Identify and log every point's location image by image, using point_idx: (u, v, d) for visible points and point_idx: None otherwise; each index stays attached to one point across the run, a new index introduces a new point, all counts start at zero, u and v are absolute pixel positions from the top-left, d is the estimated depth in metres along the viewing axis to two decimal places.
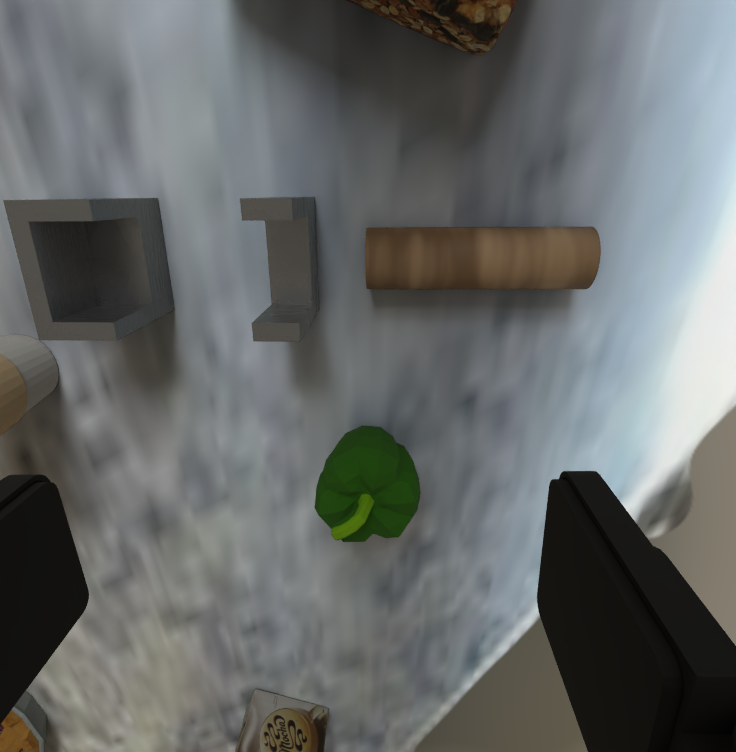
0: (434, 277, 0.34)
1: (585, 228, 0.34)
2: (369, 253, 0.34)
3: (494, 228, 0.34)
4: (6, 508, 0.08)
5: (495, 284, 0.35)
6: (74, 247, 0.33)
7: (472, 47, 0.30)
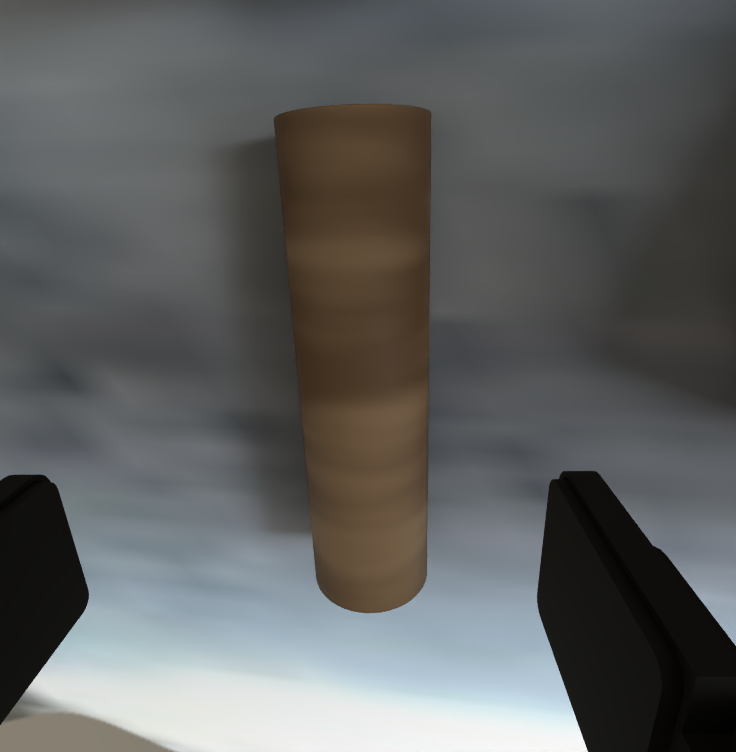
0: (316, 302, 0.14)
1: (425, 566, 0.18)
2: (369, 115, 0.12)
3: (427, 415, 0.16)
4: (6, 508, 0.08)
5: (310, 433, 0.16)
6: None
7: None
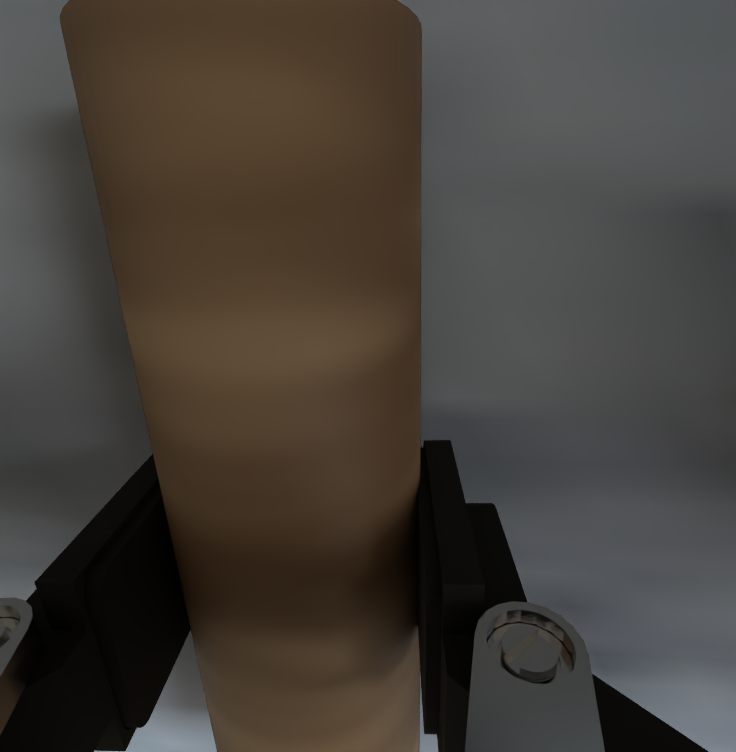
0: (173, 439, 0.06)
1: None
2: (253, 3, 0.04)
3: (417, 607, 0.09)
4: None
5: (198, 653, 0.08)
6: None
7: None
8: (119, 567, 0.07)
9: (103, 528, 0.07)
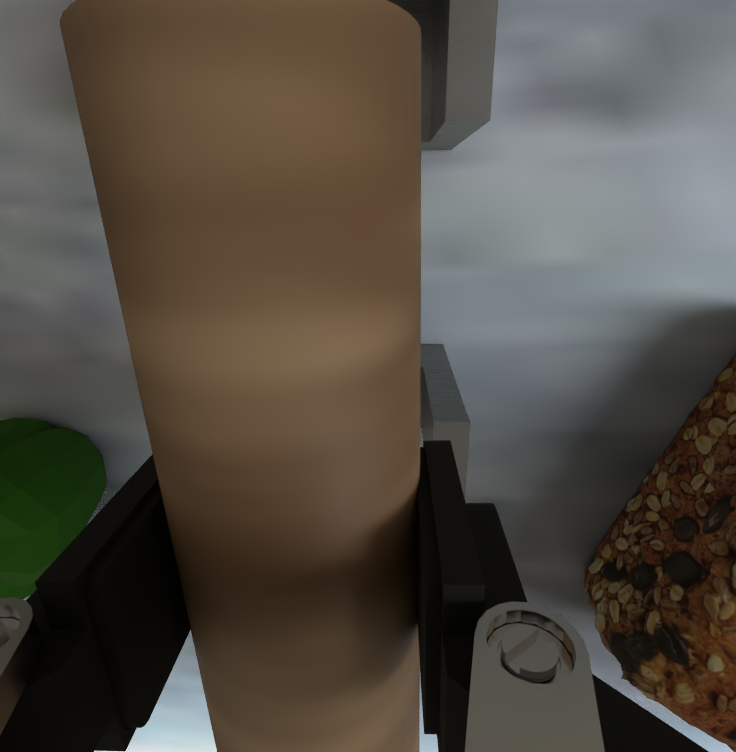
0: (173, 442, 0.06)
1: None
2: (252, 7, 0.04)
3: (416, 608, 0.09)
4: None
5: (198, 654, 0.08)
6: None
7: (597, 595, 0.27)
8: (119, 567, 0.07)
9: (103, 527, 0.07)
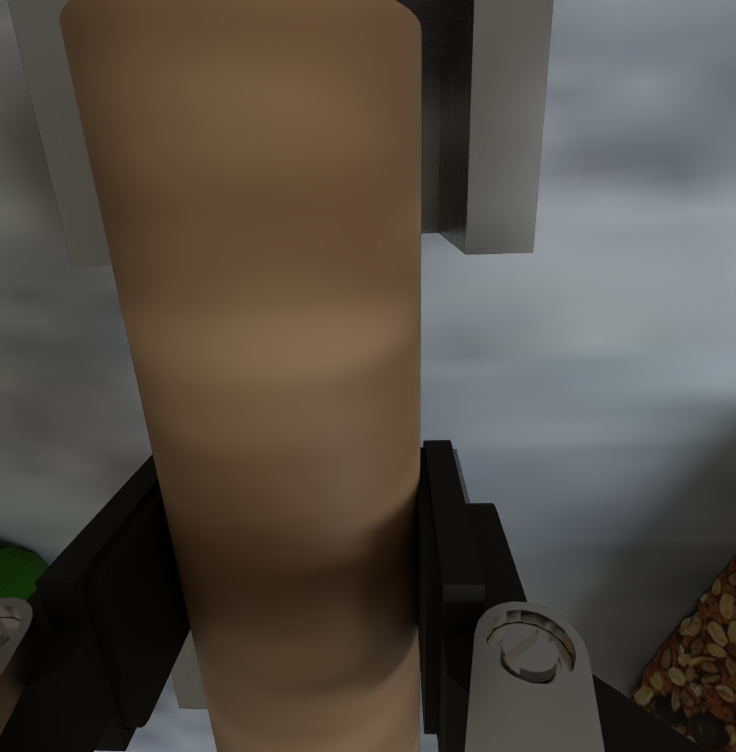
0: (173, 439, 0.06)
1: None
2: (252, 3, 0.04)
3: (417, 607, 0.09)
4: None
5: (198, 653, 0.08)
6: None
7: None
8: (119, 567, 0.07)
9: (103, 527, 0.07)
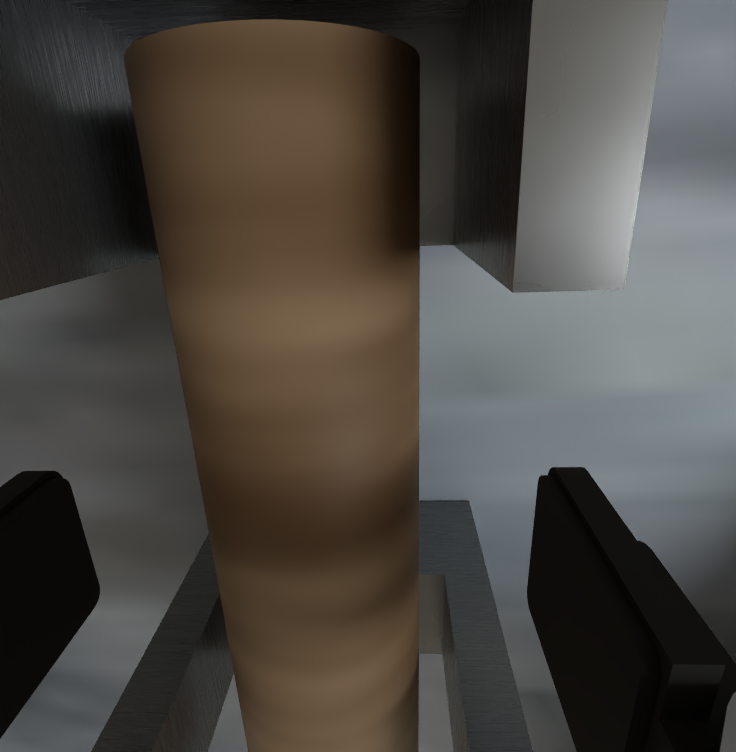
0: (209, 401, 0.08)
1: None
2: (284, 44, 0.06)
3: (416, 561, 0.10)
4: (21, 503, 0.08)
5: (223, 596, 0.10)
6: None
7: None
8: None
9: None
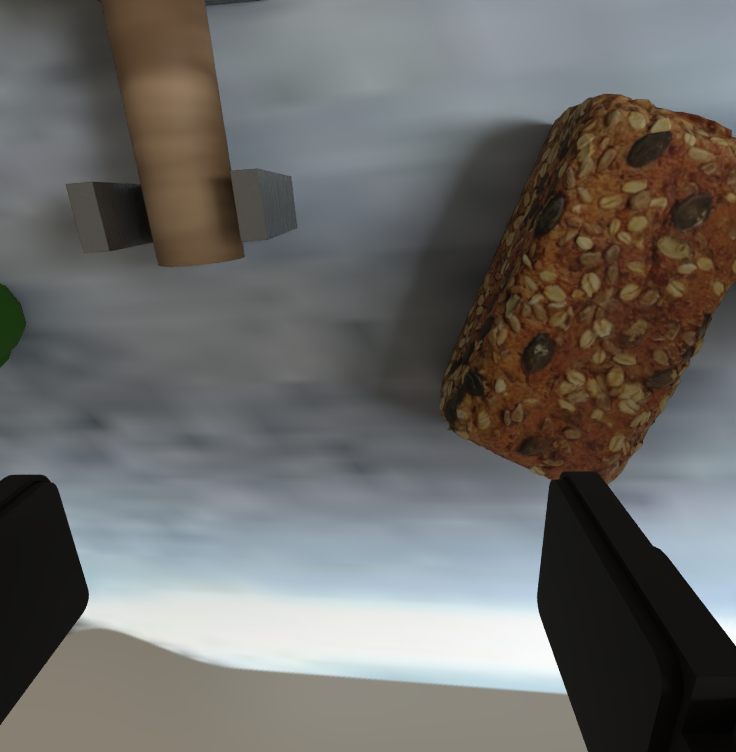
0: None
1: (234, 246, 0.25)
2: None
3: (213, 108, 0.23)
4: (6, 508, 0.08)
5: (127, 116, 0.22)
6: None
7: (444, 388, 0.32)
8: None
9: None
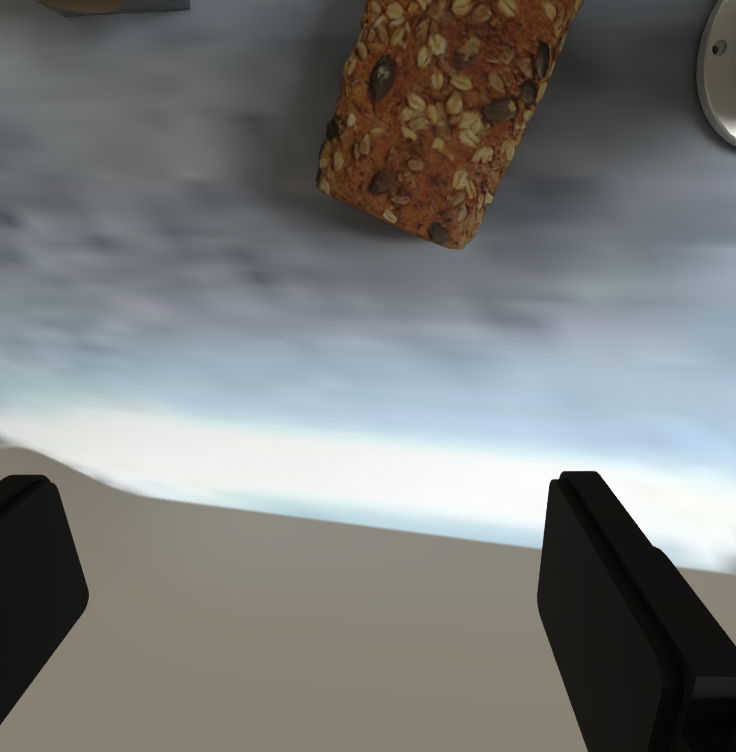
0: None
1: None
2: None
3: None
4: (6, 508, 0.08)
5: None
6: None
7: None
8: None
9: None
